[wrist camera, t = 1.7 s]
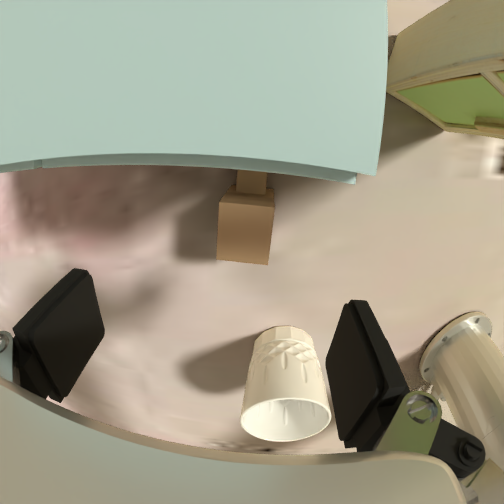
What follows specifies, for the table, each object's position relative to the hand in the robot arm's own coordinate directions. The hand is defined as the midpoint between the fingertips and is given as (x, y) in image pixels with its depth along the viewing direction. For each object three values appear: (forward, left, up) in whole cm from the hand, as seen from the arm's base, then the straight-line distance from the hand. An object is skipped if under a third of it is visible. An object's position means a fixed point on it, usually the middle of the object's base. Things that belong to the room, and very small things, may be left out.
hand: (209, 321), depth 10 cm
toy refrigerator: (+14, -14, -16) cm, 25 cm away
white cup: (-15, -5, -16) cm, 22 cm away
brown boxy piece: (+4, 0, -15) cm, 16 cm away
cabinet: (+11, +5, -15) cm, 19 cm away
